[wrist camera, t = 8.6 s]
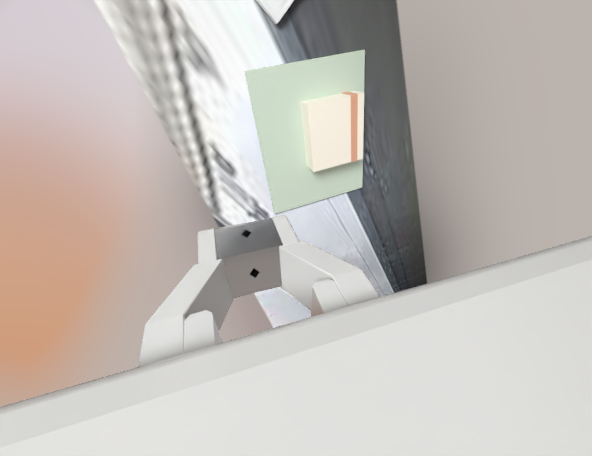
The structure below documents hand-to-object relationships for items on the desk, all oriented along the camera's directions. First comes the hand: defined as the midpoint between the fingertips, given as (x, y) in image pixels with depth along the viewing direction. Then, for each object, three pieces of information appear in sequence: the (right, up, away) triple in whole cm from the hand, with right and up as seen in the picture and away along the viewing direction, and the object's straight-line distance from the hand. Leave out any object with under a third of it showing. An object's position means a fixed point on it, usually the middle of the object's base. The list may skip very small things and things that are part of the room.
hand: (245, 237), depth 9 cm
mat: (+4, +13, +29) cm, 33 cm away
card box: (+3, +13, +27) cm, 30 cm away
